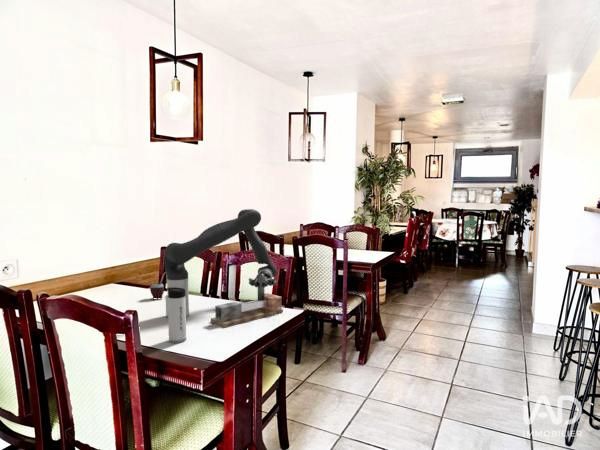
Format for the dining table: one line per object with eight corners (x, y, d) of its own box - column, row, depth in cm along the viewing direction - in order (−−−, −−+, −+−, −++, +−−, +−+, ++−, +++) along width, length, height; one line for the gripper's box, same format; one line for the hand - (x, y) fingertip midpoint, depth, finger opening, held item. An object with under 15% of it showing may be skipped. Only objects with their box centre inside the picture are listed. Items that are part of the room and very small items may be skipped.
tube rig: (225, 327, 166) (224, 309, 166) (210, 321, 174) (210, 304, 174) (282, 312, 188) (282, 296, 188) (267, 308, 196) (267, 292, 196)
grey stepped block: (234, 313, 174) (233, 279, 173) (230, 312, 176) (229, 278, 175) (273, 304, 189) (273, 273, 188) (268, 303, 191) (268, 272, 191)
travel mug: (170, 337, 154) (169, 286, 152) (187, 337, 154) (186, 285, 153) (166, 343, 147) (164, 289, 146) (184, 343, 148) (183, 289, 147)
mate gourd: (147, 299, 214) (147, 271, 213) (158, 296, 221) (157, 269, 220) (158, 300, 211) (158, 272, 210) (169, 297, 218) (168, 270, 218)
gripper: (250, 270, 200) (244, 277, 182) (278, 270, 199) (275, 277, 182) (250, 285, 200) (244, 293, 183) (278, 285, 200) (275, 293, 183)
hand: (260, 285), depth 183 cm, fingers closed on grey stepped block, 3 cm apart
